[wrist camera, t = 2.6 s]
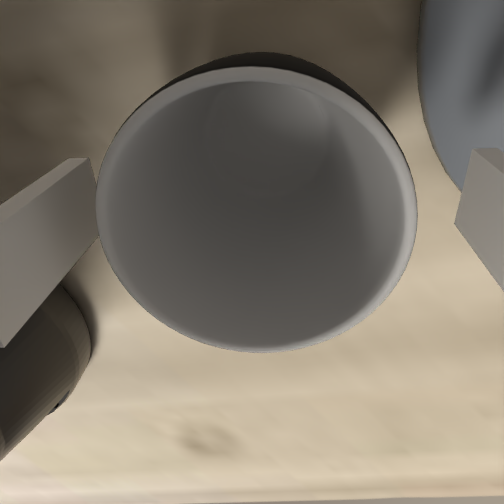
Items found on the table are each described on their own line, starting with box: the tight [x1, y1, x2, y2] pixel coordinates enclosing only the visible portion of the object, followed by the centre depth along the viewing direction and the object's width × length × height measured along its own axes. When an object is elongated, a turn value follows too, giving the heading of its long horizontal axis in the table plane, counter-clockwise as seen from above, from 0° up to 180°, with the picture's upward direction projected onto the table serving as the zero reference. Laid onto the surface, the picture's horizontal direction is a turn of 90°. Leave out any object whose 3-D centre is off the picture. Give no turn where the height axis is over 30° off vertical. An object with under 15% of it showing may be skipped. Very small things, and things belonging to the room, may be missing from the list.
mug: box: [95, 52, 418, 353], centre depth 16 cm, size 12×9×10 cm
